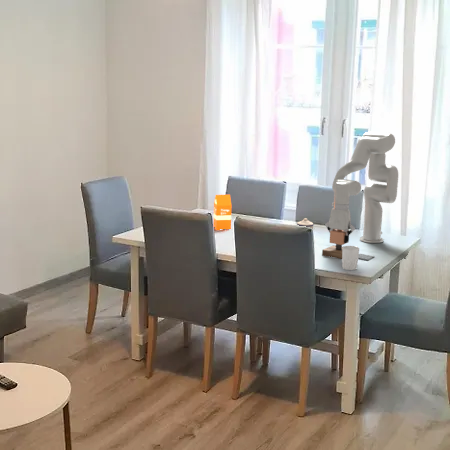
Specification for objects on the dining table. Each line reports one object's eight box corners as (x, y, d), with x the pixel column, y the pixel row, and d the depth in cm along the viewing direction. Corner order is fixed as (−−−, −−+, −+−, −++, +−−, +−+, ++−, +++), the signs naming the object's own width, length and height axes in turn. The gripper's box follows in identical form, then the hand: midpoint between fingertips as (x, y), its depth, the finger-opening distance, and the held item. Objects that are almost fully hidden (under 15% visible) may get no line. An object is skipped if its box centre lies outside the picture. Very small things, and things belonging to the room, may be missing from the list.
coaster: (359, 254, 352) (359, 253, 352) (374, 257, 347) (374, 256, 347) (352, 257, 346) (352, 256, 346) (367, 260, 341) (367, 259, 341)
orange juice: (213, 227, 406) (213, 193, 402) (227, 226, 408) (228, 193, 404) (216, 230, 399) (216, 196, 394) (231, 229, 401) (232, 195, 397)
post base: (333, 250, 358) (334, 230, 356) (354, 254, 352) (355, 233, 349) (322, 255, 349) (323, 234, 346) (343, 259, 342) (345, 238, 340)
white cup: (339, 266, 331) (340, 245, 329) (355, 265, 332) (356, 245, 329) (343, 270, 323) (344, 249, 321) (359, 270, 324) (361, 249, 322)
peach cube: (335, 240, 353) (336, 226, 352) (348, 242, 350) (349, 228, 348) (329, 242, 348) (330, 229, 346) (342, 244, 344) (343, 231, 342)
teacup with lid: (307, 242, 376) (308, 221, 373) (293, 239, 381) (294, 218, 378) (318, 238, 385) (319, 217, 383) (304, 235, 390) (305, 215, 388)
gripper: (322, 205, 347) (320, 240, 351) (353, 210, 337) (351, 245, 341) (329, 203, 353) (327, 237, 357) (360, 208, 343) (358, 242, 347)
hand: (339, 241), depth 349 cm, fingers closed on peach cube, 7 cm apart
